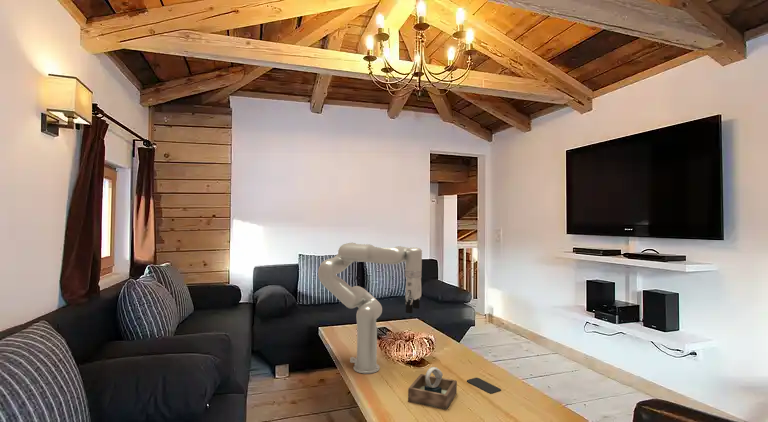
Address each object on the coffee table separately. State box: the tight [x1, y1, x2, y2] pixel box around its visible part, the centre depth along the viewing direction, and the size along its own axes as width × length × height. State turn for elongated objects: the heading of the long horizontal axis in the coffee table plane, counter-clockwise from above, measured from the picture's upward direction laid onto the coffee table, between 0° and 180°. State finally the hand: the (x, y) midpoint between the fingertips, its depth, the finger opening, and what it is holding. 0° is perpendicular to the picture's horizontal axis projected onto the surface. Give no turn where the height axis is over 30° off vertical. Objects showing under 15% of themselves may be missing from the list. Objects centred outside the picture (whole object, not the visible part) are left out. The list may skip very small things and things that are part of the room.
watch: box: [425, 366, 443, 393], centre depth 173 cm, size 6×8×11 cm
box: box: [407, 373, 458, 411], centre depth 172 cm, size 16×16×6 cm
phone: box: [466, 377, 502, 395], centre depth 185 cm, size 7×1×15 cm
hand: (412, 310), depth 195 cm, fingers open, 9 cm apart
